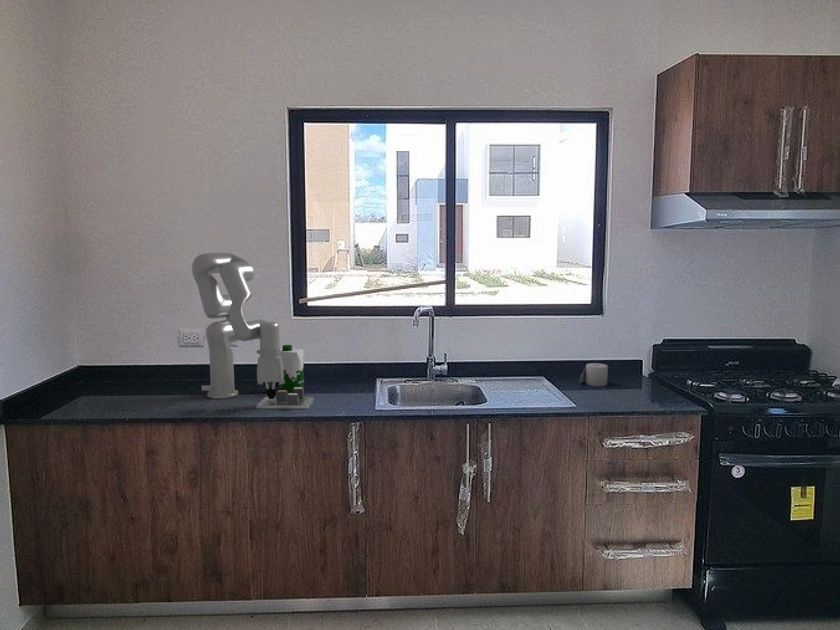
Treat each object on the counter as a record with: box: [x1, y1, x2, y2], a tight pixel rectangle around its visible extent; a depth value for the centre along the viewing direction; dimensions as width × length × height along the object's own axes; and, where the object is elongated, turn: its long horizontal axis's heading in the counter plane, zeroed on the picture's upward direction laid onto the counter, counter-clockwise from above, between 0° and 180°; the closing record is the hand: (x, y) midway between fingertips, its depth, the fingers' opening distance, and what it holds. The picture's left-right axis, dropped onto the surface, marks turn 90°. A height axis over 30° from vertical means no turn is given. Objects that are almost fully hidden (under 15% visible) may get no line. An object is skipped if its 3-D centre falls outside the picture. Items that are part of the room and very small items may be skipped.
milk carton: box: [280, 344, 305, 394], centre depth 270 cm, size 9×9×20 cm
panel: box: [256, 396, 315, 410], centre depth 250 cm, size 20×13×1 cm, turn 89°
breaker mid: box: [275, 389, 289, 401], centre depth 250 cm, size 4×2×4 cm, turn 89°
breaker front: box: [287, 393, 299, 405], centre depth 245 cm, size 4×2×4 cm, turn 89°
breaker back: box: [293, 387, 305, 398], centre depth 255 cm, size 4×2×4 cm, turn 89°
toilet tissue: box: [579, 362, 609, 387], centre depth 283 cm, size 9×13×9 cm
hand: (271, 398), depth 250 cm, fingers closed
